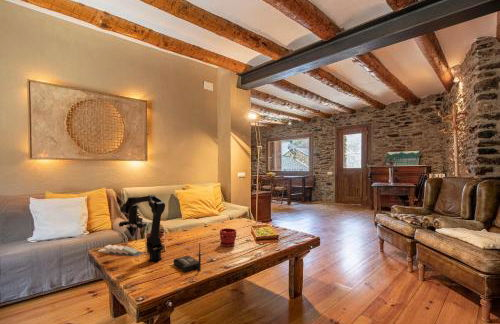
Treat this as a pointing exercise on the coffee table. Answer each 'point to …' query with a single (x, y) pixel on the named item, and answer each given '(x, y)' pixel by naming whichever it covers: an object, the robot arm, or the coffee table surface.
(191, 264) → the black wifi router
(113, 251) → the domino
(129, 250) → the sage domino
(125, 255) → the mat
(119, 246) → the domino
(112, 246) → the domino
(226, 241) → the plant pot
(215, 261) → the coffee table surface
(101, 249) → the end domino
